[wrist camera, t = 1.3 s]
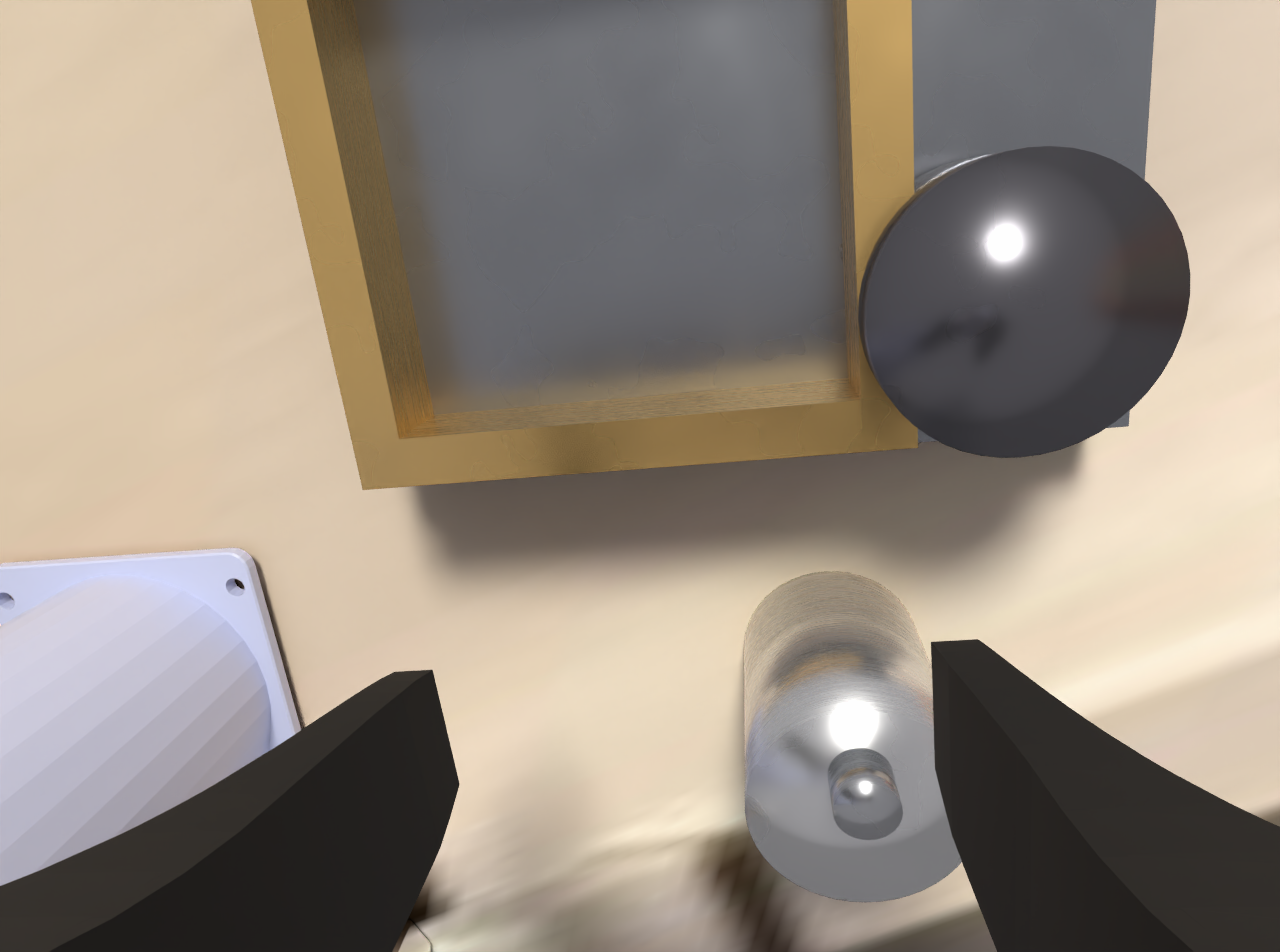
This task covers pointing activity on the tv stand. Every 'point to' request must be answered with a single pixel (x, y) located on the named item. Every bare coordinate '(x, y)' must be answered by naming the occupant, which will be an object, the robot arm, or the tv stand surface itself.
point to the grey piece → (724, 226)
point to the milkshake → (412, 940)
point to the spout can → (842, 742)
